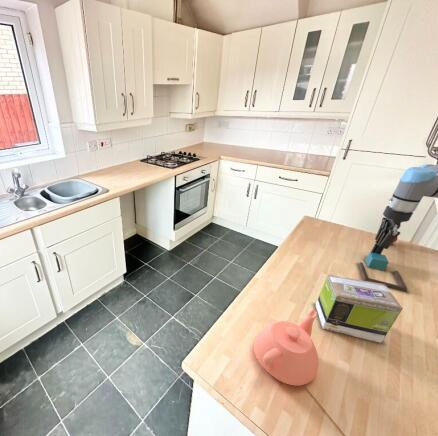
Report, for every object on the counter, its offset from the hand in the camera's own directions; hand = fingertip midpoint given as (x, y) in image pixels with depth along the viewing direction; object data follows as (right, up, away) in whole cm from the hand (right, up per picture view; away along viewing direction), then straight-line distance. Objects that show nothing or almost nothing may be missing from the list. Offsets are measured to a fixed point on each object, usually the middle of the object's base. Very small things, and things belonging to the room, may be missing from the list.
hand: (373, 258), depth 103 cm
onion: (+16, +5, +12) cm, 21 cm away
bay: (-5, -6, -8) cm, 12 cm away
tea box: (-33, -17, -26) cm, 46 cm away
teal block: (-2, -3, -2) cm, 4 cm away
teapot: (-58, -23, -35) cm, 72 cm away
